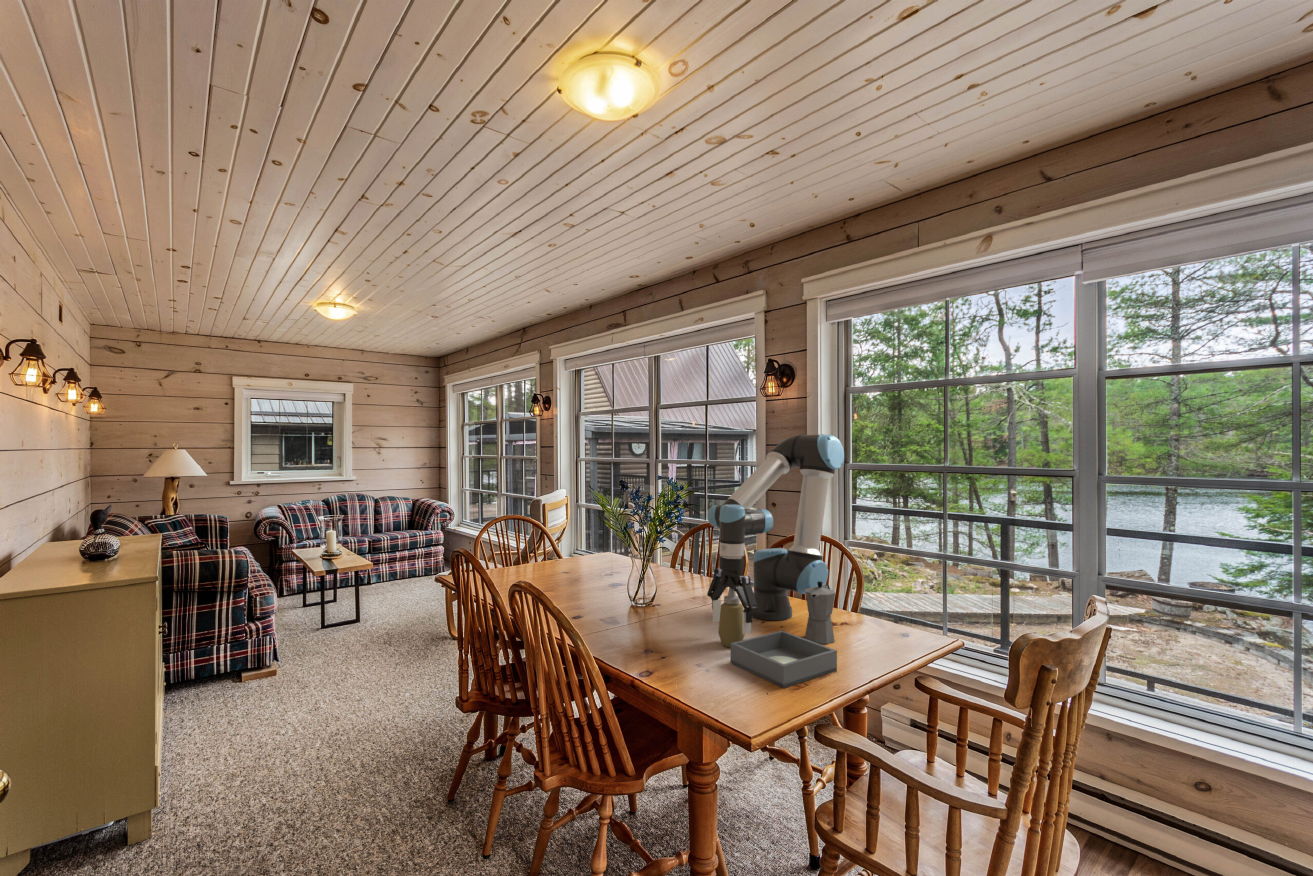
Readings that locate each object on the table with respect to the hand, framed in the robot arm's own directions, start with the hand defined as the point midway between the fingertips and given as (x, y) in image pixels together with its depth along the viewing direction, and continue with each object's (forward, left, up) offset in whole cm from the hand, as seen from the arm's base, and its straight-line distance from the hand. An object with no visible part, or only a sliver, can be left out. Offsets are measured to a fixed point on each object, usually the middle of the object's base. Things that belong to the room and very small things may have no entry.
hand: (731, 627), depth 178 cm
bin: (0, +21, -5) cm, 22 cm away
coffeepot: (-27, +11, -6) cm, 30 cm away
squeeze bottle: (0, 0, -6) cm, 6 cm away
